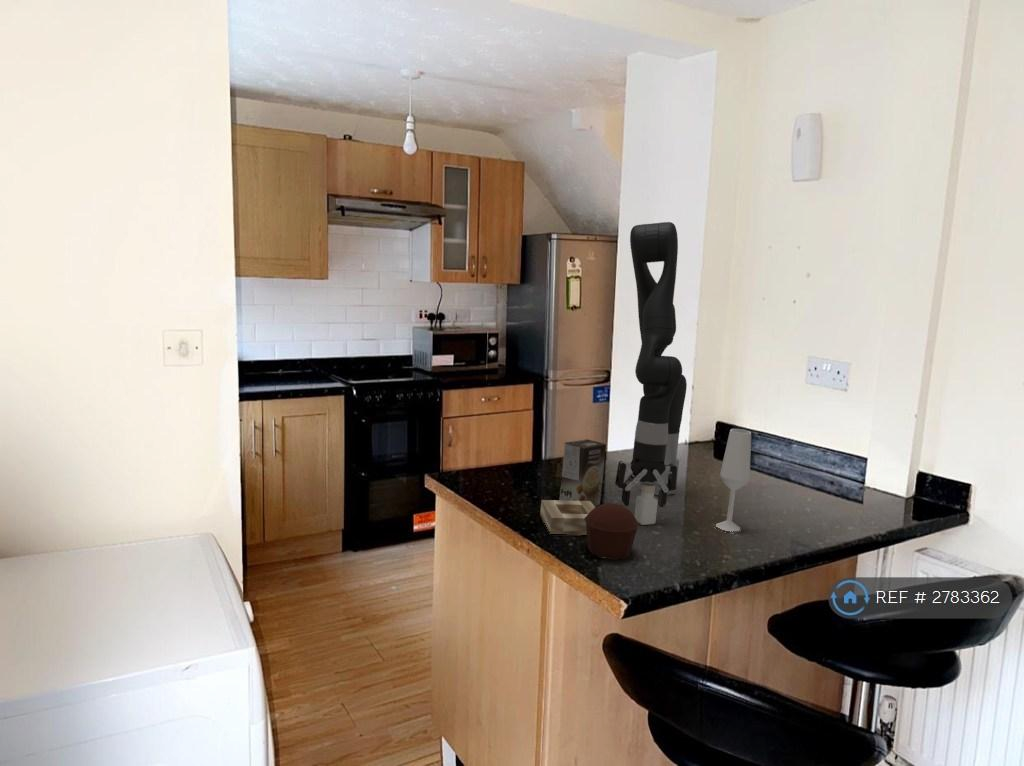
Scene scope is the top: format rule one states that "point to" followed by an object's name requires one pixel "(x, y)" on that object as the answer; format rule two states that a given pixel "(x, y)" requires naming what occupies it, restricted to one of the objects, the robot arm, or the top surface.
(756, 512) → the top surface
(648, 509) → the pepper shaker
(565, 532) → the birch holder
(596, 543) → the muffin
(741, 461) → the champagne flute
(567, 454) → the coffee box
